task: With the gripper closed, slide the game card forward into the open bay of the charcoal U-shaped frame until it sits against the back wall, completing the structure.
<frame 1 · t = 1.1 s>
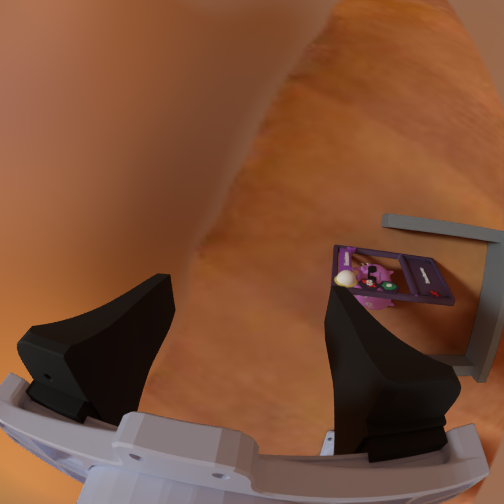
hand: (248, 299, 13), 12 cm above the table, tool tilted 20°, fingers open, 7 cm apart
frame: (431, 296, 22), on the table
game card: (380, 278, 23), on the table
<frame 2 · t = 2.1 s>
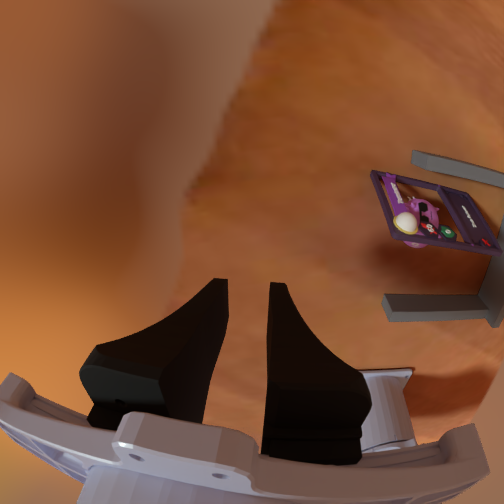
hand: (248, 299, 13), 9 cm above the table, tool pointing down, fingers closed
frame: (454, 239, 20), on the table
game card: (415, 209, 20), on the table
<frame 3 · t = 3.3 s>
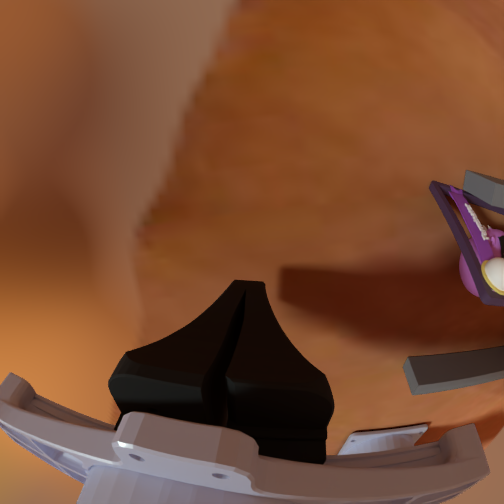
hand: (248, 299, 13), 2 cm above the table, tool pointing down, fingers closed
frame: (499, 286, 13), on the table
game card: (476, 238, 13), on the table
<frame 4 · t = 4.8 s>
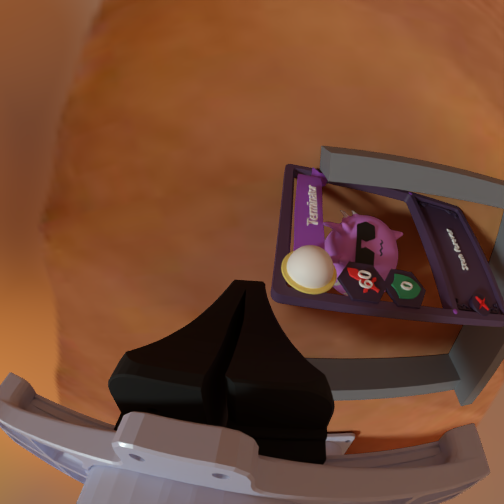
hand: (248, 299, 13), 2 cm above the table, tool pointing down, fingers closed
frame: (407, 285, 14), on the table
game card: (369, 229, 13), on the table
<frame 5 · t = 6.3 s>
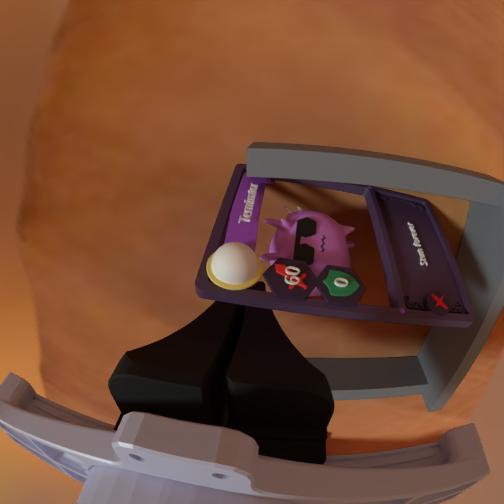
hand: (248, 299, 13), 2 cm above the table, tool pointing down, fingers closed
frame: (360, 283, 14), on the table
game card: (328, 226, 13), on the table, touching frame
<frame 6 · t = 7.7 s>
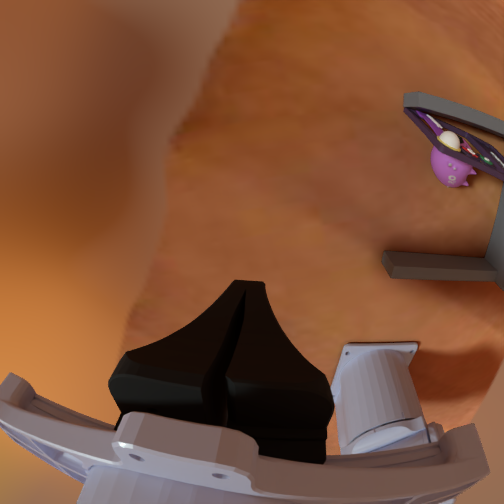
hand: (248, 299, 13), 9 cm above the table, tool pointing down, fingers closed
frame: (455, 191, 18), on the table
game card: (445, 154, 17), on the table
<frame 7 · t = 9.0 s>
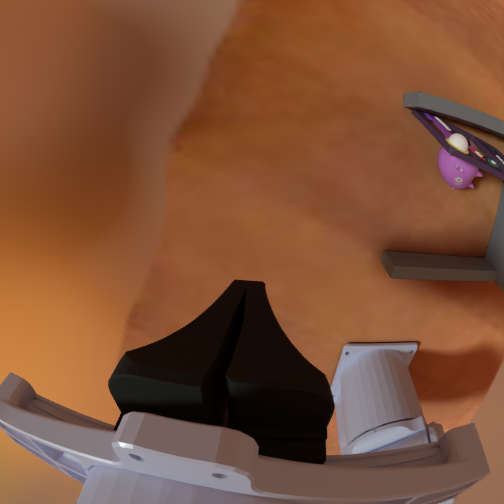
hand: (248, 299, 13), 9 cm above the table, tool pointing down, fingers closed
frame: (455, 191, 18), on the table
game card: (451, 156, 17), on the table
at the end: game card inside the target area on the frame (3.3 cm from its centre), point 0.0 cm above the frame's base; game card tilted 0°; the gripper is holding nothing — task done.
